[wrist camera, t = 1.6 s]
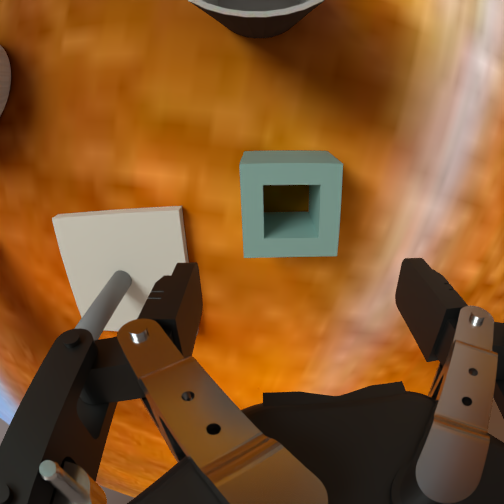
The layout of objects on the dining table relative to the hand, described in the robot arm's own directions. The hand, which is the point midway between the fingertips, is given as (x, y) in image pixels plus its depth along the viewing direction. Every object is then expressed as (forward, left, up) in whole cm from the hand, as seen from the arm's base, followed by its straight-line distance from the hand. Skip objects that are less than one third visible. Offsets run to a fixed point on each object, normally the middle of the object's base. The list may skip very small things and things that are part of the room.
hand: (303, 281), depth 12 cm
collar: (0, 0, -13) cm, 13 cm away
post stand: (+14, +7, -13) cm, 20 cm away
